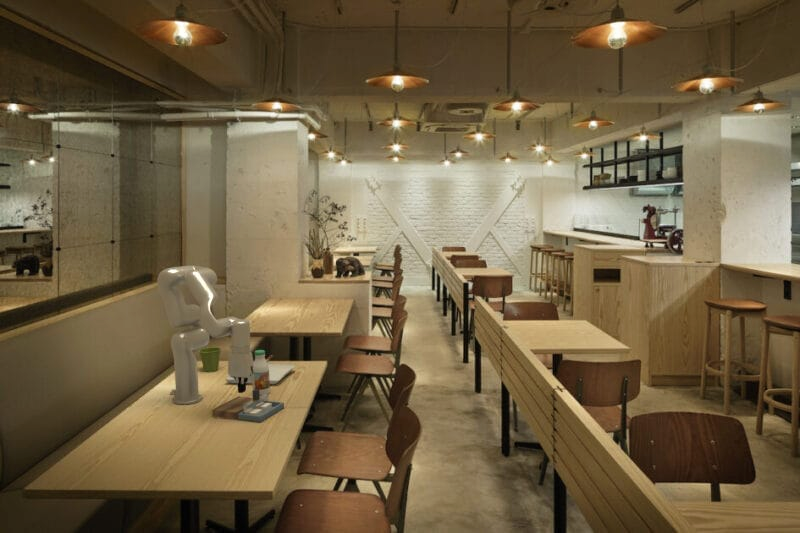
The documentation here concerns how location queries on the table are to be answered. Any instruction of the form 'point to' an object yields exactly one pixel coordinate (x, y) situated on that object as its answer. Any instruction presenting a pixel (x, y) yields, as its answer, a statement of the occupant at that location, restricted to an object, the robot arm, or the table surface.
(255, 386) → the milk bottle
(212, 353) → the plant pot
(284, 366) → the square plate
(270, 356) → the kitchen cleaver
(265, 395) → the bar
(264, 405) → the white tile
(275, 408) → the box
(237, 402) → the walnut board
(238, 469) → the table surface
